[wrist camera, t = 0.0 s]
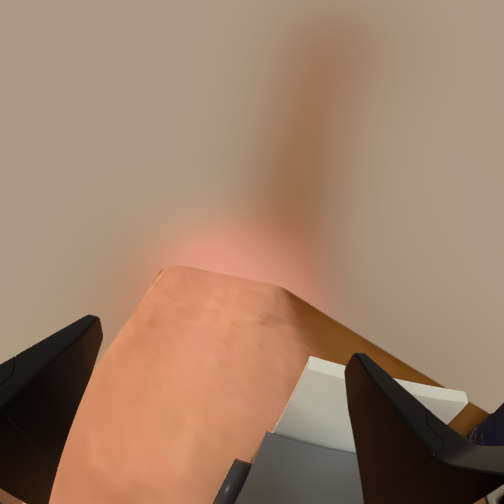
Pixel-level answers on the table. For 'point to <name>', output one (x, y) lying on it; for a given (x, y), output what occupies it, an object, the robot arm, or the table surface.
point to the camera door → (345, 406)
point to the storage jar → (489, 430)
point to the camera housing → (292, 475)
